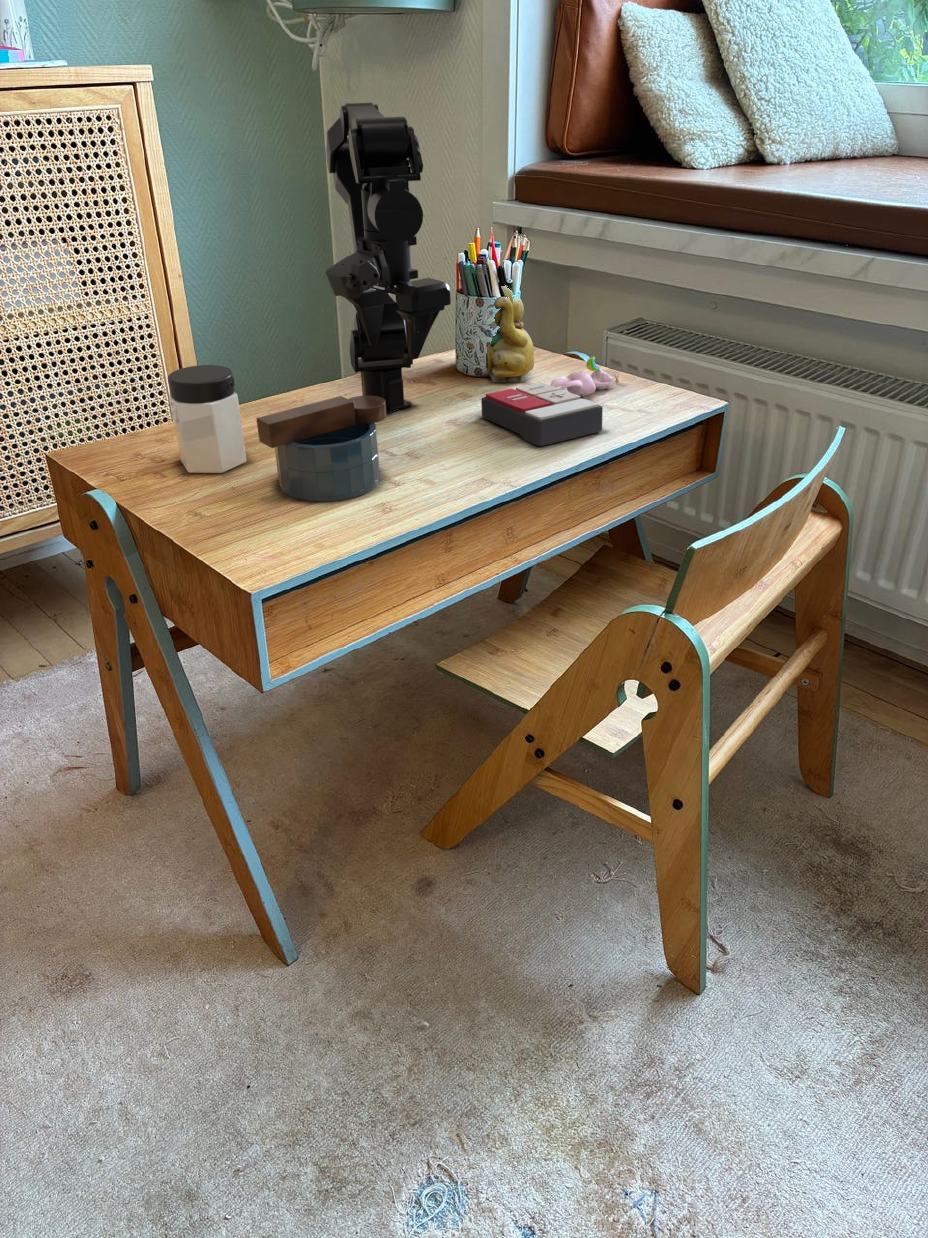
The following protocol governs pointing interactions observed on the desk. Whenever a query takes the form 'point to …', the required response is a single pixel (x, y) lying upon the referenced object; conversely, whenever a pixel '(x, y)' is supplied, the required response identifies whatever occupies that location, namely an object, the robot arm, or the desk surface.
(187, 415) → the jar
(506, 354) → the decorative figurine
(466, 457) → the desk surface
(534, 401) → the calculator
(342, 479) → the pot
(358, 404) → the spoon
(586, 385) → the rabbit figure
